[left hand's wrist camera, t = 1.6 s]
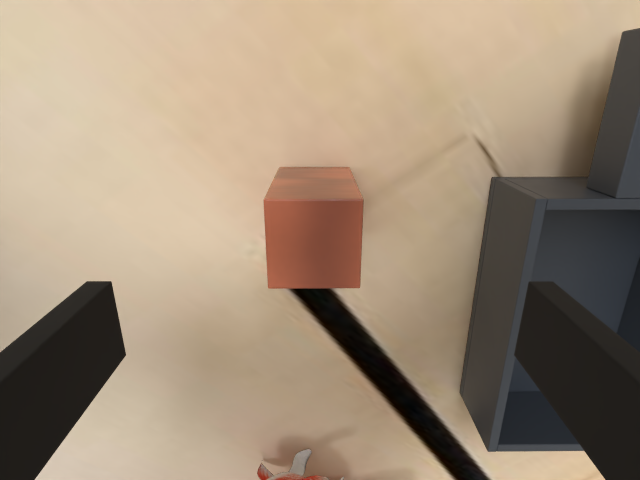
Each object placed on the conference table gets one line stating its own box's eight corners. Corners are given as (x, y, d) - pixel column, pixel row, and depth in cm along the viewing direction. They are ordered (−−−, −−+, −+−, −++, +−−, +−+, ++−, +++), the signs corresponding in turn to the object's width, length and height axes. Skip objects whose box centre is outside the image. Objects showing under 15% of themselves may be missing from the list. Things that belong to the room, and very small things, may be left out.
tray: (459, 392, 32) (487, 451, 27) (512, 38, 23) (569, 23, 18) (600, 391, 32) (655, 450, 27) (705, 39, 23) (819, 23, 18)
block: (281, 234, 27) (268, 289, 20) (278, 167, 26) (263, 199, 18) (347, 233, 27) (360, 288, 20) (349, 166, 26) (363, 199, 18)
